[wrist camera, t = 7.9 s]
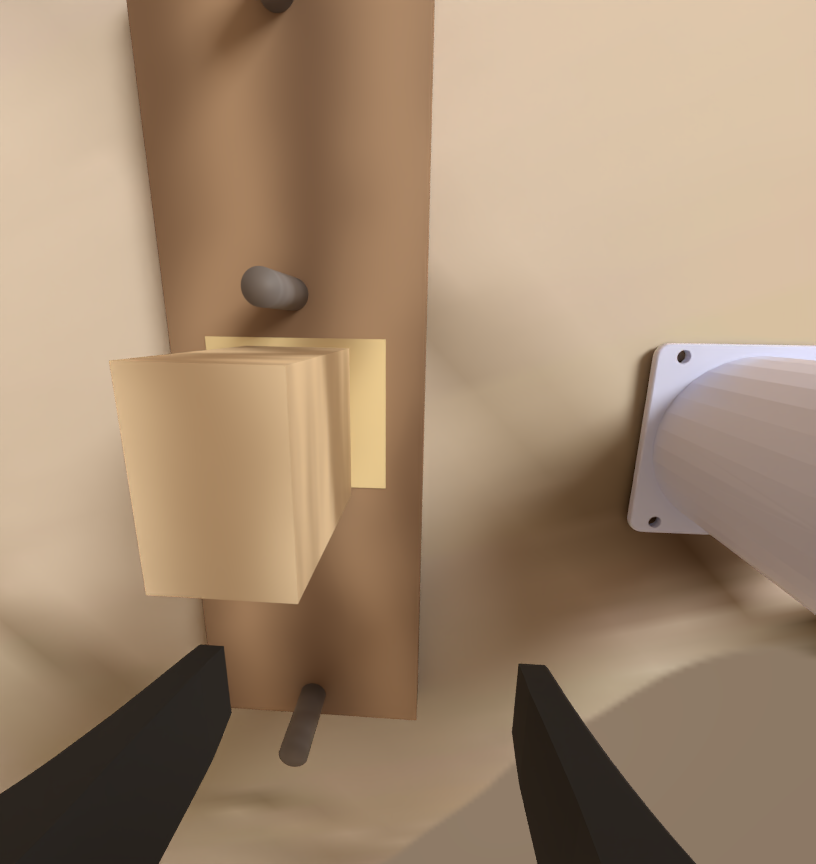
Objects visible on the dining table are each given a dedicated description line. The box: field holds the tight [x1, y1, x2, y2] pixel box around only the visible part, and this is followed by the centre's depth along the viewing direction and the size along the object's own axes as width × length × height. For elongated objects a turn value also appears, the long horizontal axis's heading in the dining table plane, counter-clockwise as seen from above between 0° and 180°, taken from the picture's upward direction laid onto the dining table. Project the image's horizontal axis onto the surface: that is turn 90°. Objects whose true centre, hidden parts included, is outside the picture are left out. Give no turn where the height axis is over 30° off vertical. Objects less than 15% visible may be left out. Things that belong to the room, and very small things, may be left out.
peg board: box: [127, 0, 435, 767], centre depth 16 cm, size 10×30×4 cm, turn 179°
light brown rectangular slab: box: [109, 346, 351, 604], centre depth 13 cm, size 4×6×7 cm
